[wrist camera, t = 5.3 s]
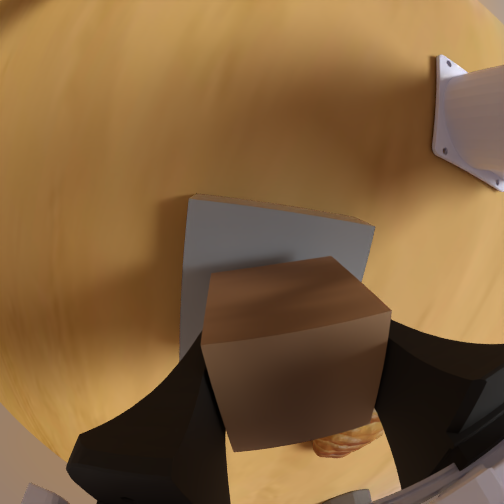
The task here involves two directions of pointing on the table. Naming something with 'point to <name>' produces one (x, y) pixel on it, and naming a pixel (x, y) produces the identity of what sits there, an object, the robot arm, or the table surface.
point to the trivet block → (258, 245)
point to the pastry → (348, 439)
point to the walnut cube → (293, 351)
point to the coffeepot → (352, 498)
